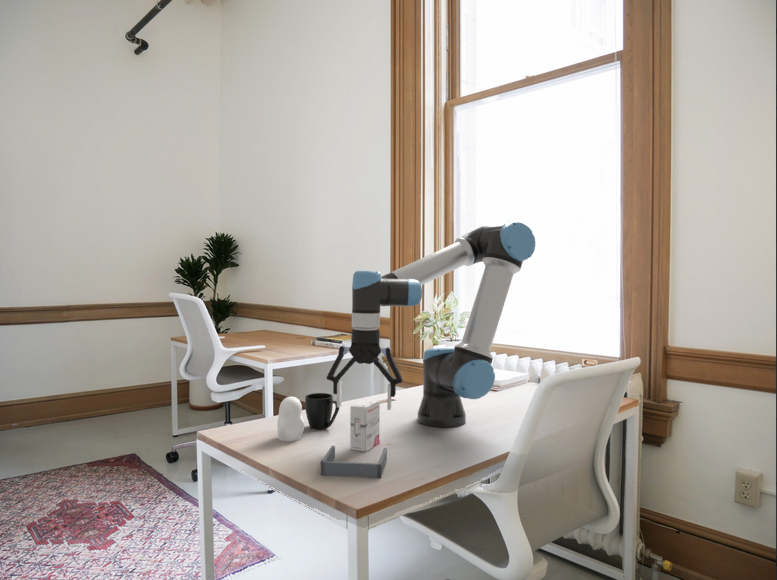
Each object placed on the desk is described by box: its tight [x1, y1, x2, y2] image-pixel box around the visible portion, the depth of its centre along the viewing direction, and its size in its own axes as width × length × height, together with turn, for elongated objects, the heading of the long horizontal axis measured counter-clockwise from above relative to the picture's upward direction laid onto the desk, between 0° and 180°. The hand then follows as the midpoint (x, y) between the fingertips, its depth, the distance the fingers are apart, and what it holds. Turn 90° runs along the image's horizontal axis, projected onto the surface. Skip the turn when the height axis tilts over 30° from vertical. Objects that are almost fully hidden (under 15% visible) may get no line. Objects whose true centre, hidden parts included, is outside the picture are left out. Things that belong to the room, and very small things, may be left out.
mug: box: [304, 392, 340, 431], centre depth 164 cm, size 8×12×10 cm
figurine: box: [276, 396, 305, 442], centre depth 154 cm, size 7×8×12 cm
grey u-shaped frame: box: [320, 445, 388, 479], centre depth 132 cm, size 14×12×3 cm
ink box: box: [349, 399, 381, 452], centre depth 148 cm, size 9×5×12 cm, turn 155°
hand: (364, 407), depth 147 cm, fingers open, 13 cm apart
